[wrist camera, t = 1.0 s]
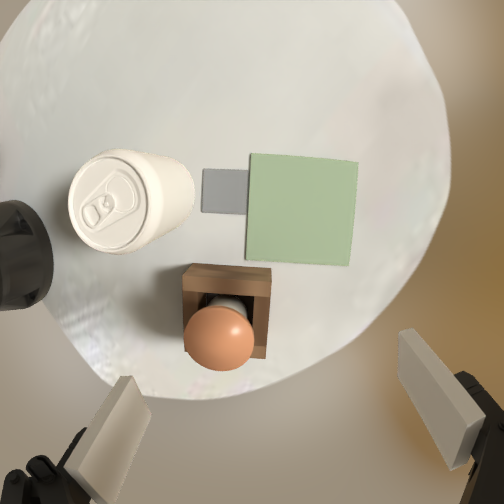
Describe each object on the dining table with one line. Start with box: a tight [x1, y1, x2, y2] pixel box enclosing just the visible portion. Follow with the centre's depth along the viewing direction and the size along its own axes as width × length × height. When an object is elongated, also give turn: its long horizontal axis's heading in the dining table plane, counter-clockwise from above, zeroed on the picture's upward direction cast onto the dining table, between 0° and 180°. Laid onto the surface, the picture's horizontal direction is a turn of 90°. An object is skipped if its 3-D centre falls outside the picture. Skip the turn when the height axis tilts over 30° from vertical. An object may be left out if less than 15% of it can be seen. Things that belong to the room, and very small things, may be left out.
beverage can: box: [68, 149, 195, 255], centre depth 26 cm, size 8×8×12 cm
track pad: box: [202, 169, 248, 214], centre depth 31 cm, size 4×4×1 cm
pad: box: [246, 153, 358, 266], centre depth 31 cm, size 11×11×1 cm
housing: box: [182, 263, 272, 359], centre depth 32 cm, size 8×8×4 cm
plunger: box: [184, 294, 254, 371], centre depth 28 cm, size 6×6×6 cm
